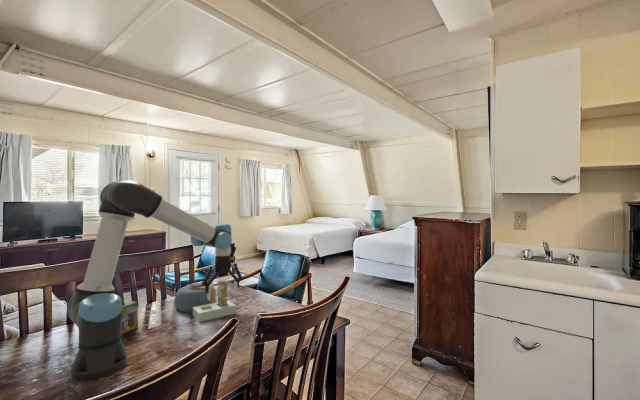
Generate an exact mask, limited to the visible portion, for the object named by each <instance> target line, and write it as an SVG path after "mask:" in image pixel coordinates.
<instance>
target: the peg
mask: <svg viewBox="0 0 640 400" xmlns="http://www.w3.org/2000/svg"><path fill="white" fill-rule="evenodd" d="M217 281H218V283H217V285H218V286H217V290H218V291H217V302H218V306H219V307H222V306H226V305H227V300H228V280H226V279H220V280H217Z"/></svg>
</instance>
